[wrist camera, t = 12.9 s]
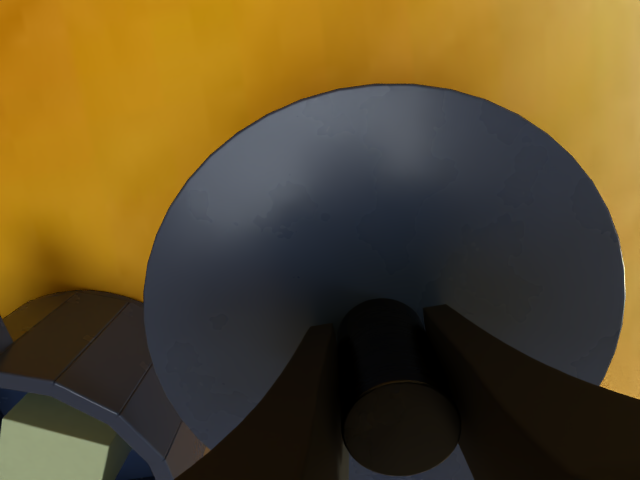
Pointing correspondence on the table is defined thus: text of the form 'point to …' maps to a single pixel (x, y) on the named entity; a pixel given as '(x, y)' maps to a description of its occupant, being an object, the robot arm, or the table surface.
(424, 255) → the lid
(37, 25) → the table surface
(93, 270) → the table surface
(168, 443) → the pot
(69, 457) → the block
